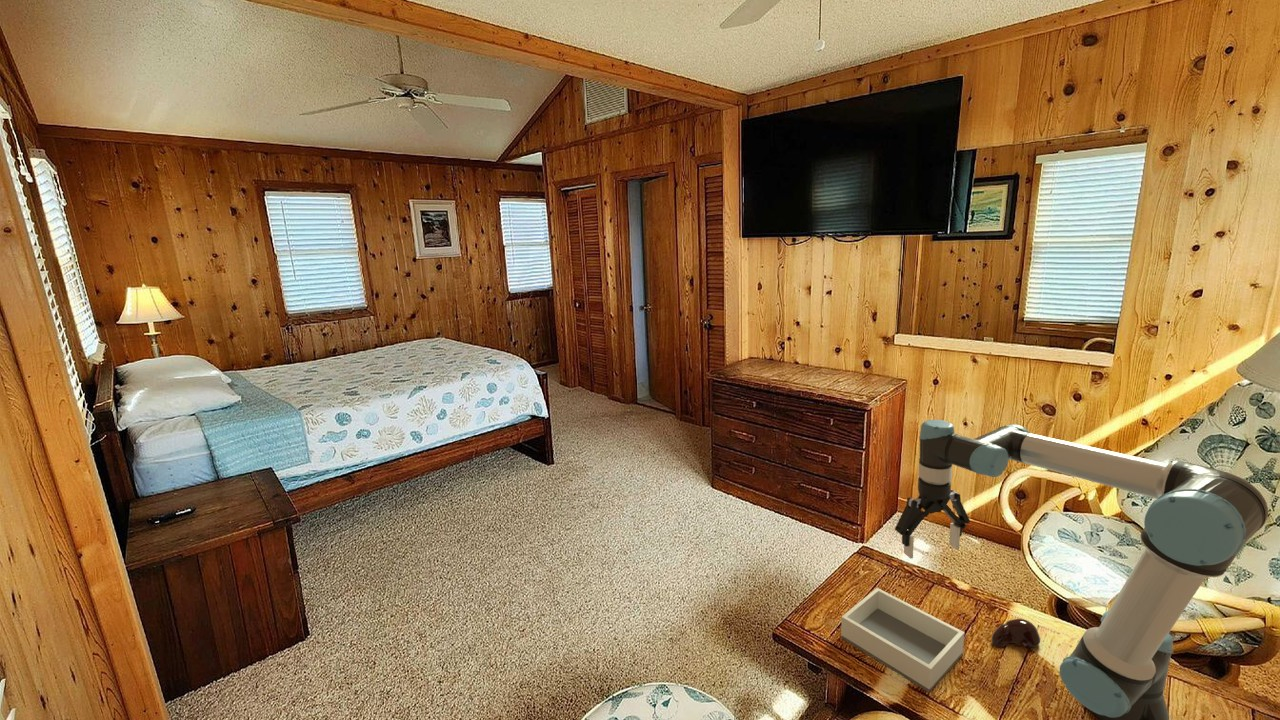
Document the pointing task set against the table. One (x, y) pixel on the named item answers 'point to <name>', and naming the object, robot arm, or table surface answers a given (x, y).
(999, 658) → the table surface
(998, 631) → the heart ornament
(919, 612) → the open box
